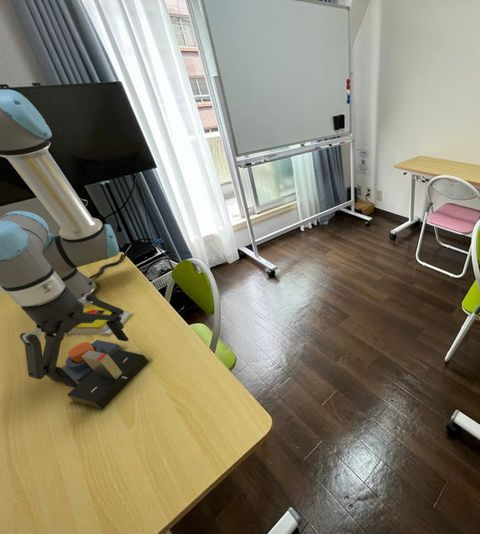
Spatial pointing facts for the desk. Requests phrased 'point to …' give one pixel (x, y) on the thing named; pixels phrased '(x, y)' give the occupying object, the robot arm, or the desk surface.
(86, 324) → the emergency button
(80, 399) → the cooker panel
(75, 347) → the push knob
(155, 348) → the desk surface
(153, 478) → the desk surface
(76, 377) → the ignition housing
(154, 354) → the desk surface
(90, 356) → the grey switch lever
